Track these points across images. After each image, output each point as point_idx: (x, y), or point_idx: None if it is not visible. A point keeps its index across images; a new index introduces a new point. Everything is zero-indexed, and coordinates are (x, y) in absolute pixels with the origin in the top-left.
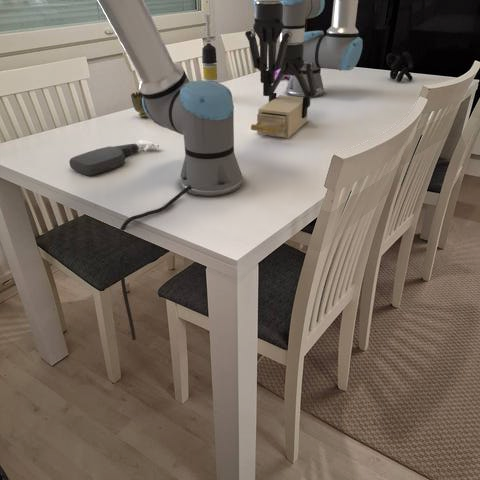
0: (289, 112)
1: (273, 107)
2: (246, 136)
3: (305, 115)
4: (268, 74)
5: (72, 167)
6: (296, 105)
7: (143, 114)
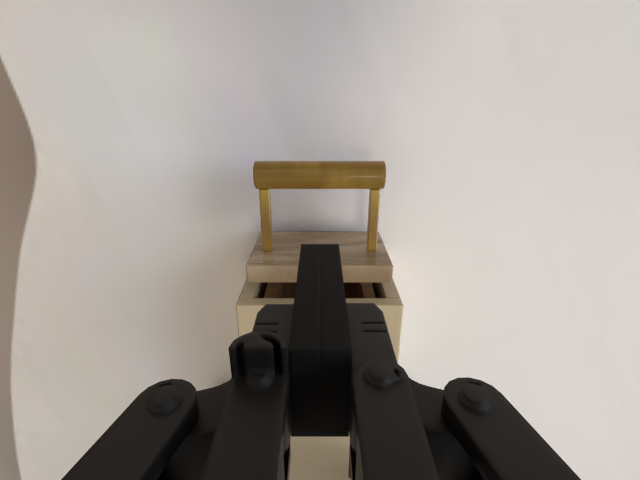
0: (236, 308)
1: None
2: (418, 211)
3: None
4: (290, 341)
5: None
6: None
7: None
